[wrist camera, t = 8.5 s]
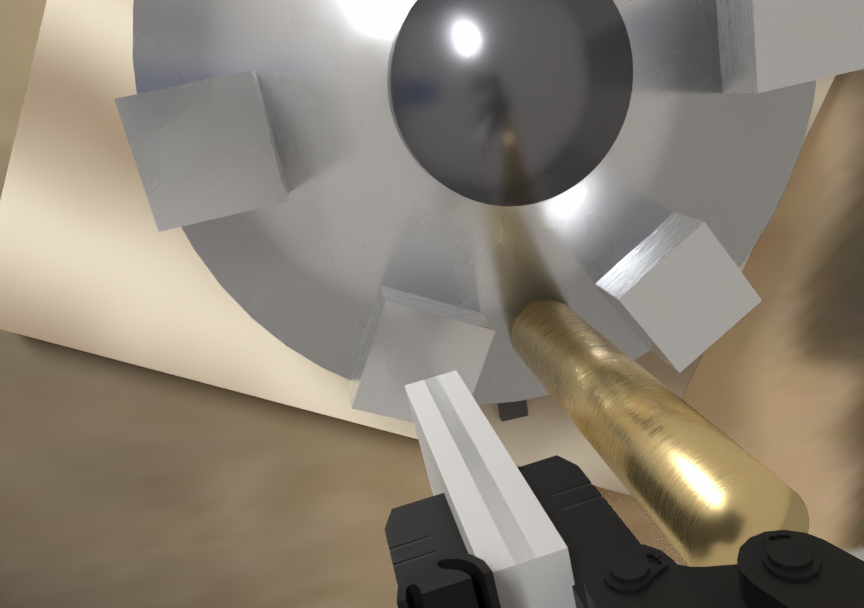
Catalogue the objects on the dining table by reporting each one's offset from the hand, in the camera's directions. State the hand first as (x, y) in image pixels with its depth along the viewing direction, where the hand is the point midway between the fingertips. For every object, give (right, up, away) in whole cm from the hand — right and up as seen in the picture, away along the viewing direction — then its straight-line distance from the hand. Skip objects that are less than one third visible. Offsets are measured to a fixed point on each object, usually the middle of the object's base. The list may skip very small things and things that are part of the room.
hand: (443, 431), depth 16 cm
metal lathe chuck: (+1, +10, +6) cm, 11 cm away
